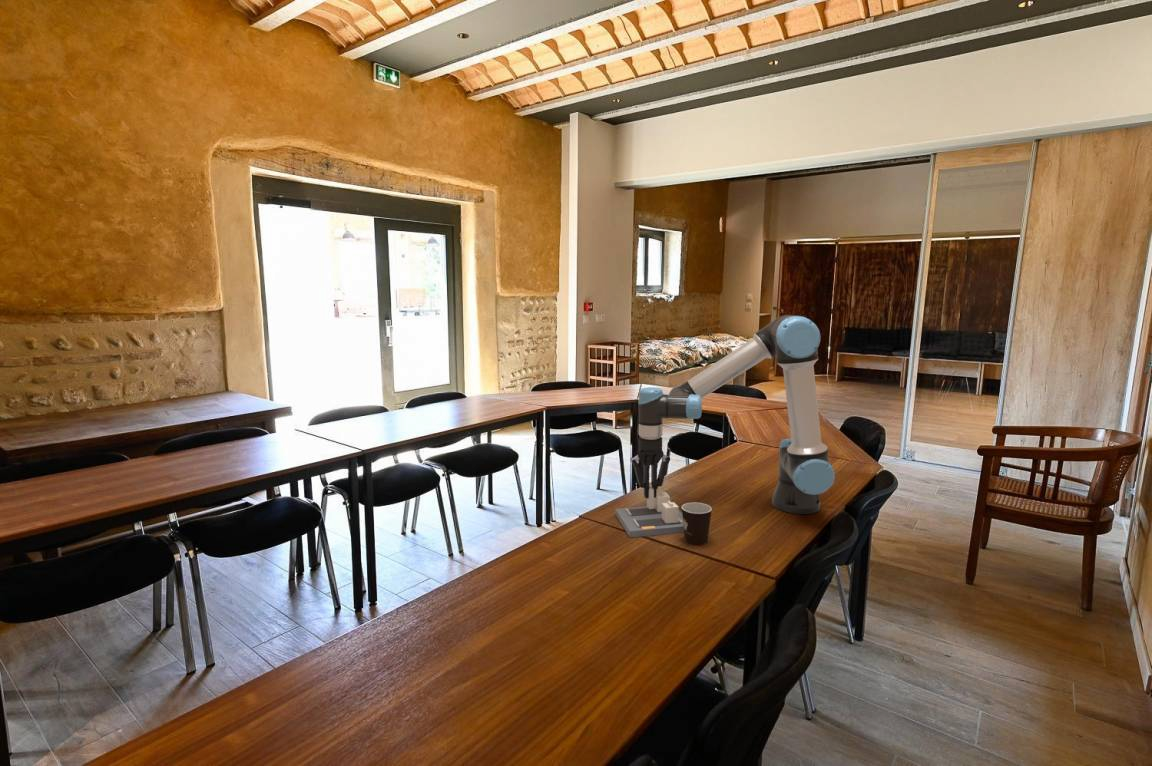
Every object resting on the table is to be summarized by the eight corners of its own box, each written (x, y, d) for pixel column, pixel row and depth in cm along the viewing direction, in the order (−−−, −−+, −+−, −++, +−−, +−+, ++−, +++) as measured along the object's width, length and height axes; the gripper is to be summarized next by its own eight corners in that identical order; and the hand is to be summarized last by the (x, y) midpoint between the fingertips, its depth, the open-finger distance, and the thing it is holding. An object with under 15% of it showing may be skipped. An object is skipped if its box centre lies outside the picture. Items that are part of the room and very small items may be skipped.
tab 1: (665, 506, 186) (665, 489, 185) (669, 511, 182) (669, 494, 181) (654, 507, 185) (654, 490, 184) (657, 512, 181) (657, 495, 180)
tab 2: (673, 517, 177) (674, 499, 176) (678, 522, 173) (678, 504, 172) (661, 518, 176) (661, 500, 175) (665, 523, 172) (666, 505, 172)
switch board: (673, 509, 189) (673, 502, 189) (693, 531, 172) (693, 523, 171) (615, 514, 186) (615, 507, 186) (630, 537, 168) (630, 529, 168)
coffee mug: (711, 547, 161) (712, 514, 159) (680, 545, 163) (681, 512, 161) (710, 531, 172) (711, 499, 170) (682, 529, 174) (682, 498, 172)
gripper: (666, 432, 184) (665, 501, 188) (627, 434, 182) (627, 504, 185) (674, 438, 176) (673, 509, 180) (633, 440, 174) (633, 513, 178)
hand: (650, 507), depth 183 cm, fingers closed
